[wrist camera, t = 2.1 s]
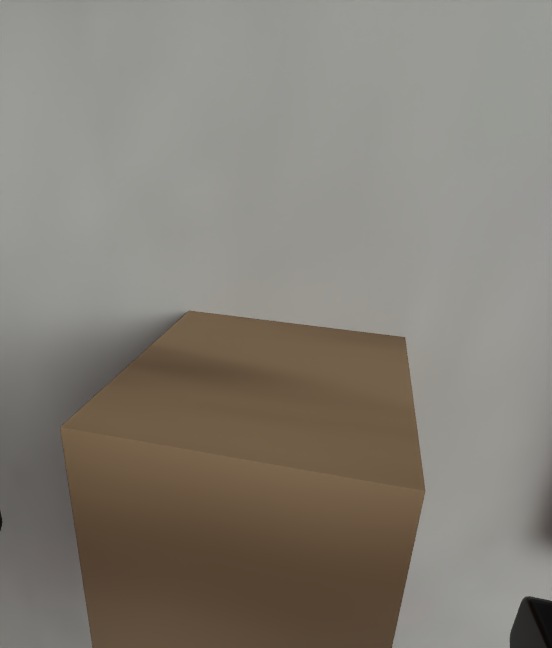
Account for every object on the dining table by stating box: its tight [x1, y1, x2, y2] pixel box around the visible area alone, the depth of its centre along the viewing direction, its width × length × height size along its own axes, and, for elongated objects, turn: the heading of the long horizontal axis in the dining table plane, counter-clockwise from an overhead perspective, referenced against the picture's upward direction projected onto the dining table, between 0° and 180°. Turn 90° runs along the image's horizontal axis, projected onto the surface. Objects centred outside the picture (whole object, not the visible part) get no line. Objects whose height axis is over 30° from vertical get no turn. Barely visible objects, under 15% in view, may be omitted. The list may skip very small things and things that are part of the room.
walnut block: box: [60, 311, 425, 648], centre depth 9 cm, size 5×5×5 cm
